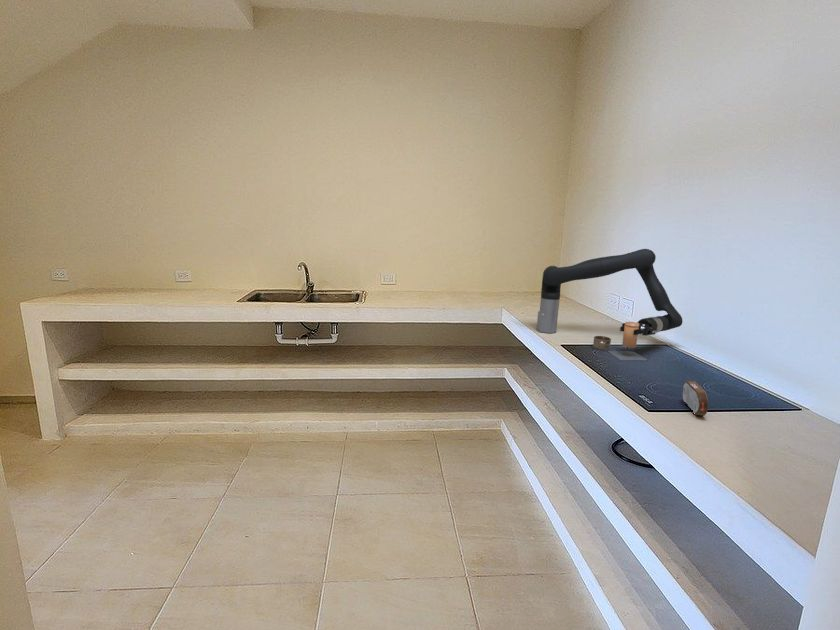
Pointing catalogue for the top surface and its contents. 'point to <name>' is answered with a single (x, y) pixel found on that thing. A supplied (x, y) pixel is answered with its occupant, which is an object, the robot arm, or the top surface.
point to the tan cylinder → (630, 334)
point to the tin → (695, 397)
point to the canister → (601, 343)
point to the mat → (627, 356)
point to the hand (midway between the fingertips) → (627, 330)
